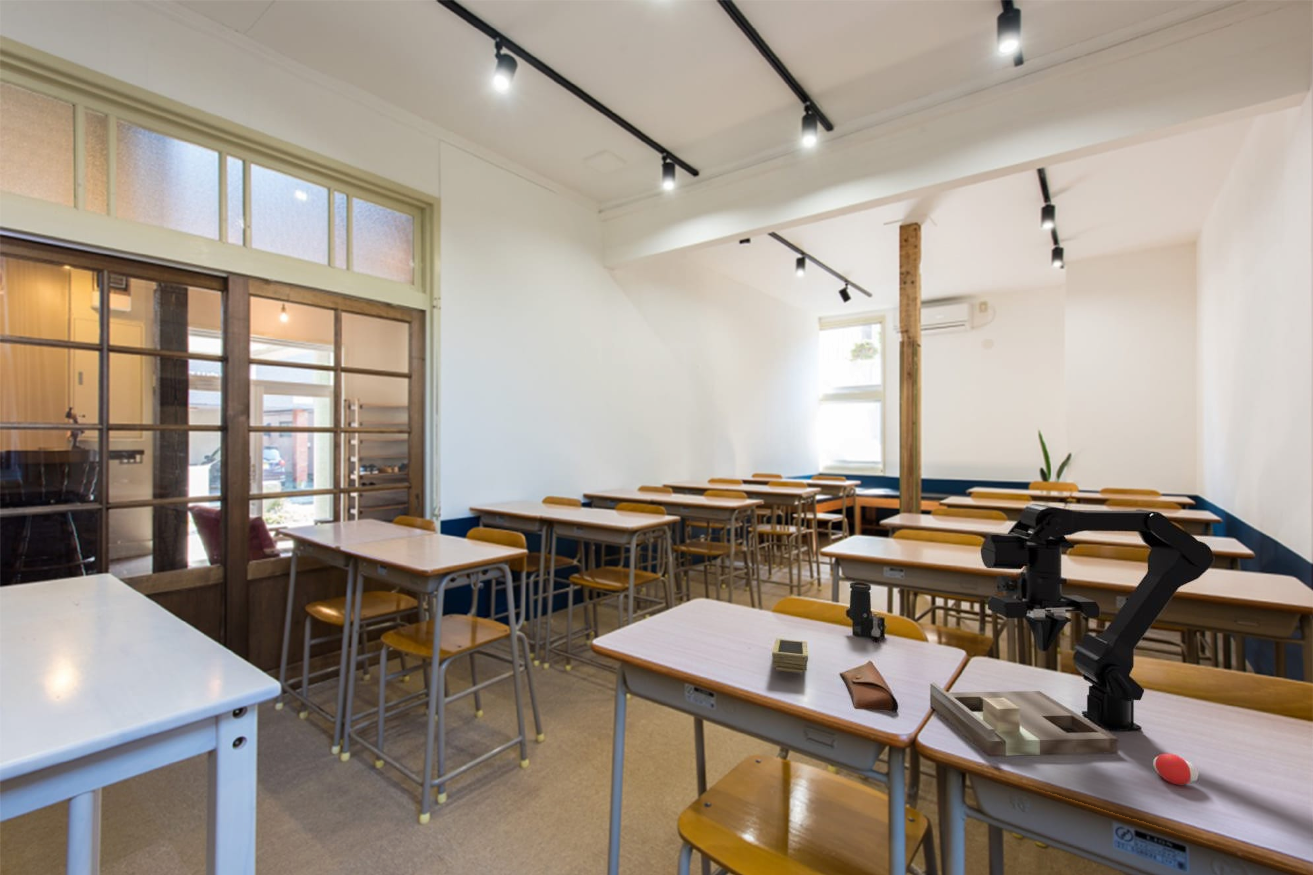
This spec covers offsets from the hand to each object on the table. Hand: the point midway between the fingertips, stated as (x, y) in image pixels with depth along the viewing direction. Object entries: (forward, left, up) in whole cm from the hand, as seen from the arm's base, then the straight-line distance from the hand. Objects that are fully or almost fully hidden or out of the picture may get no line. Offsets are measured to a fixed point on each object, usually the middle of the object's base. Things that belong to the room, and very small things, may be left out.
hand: (1042, 650), depth 107 cm
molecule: (-6, +20, -13) cm, 25 cm away
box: (+41, -28, -13) cm, 51 cm away
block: (+13, +7, -10) cm, 18 cm away
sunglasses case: (+29, -13, -14) cm, 35 cm away
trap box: (+7, +3, -13) cm, 15 cm away
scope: (+15, -46, -13) cm, 50 cm away
